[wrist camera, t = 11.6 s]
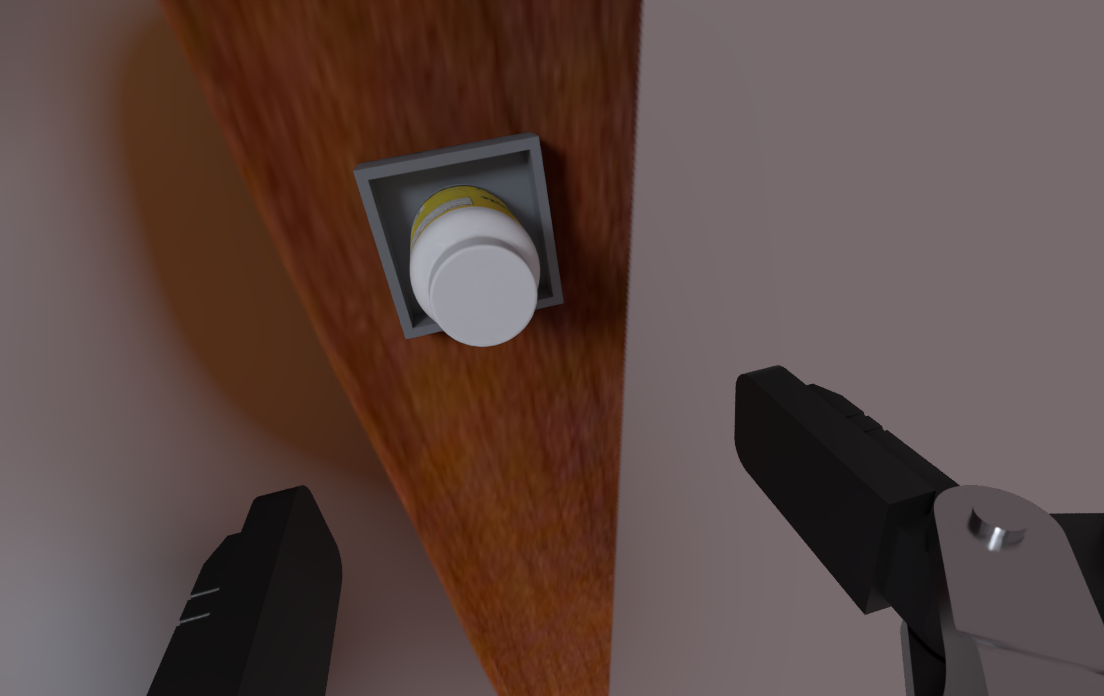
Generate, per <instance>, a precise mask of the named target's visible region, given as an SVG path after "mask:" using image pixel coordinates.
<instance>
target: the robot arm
mask: <svg viewBox="0 0 1104 696" xmlns="http://www.w3.org/2000/svg"><path fill="white" fill-rule="evenodd" d="M734 438H735V446H736V450H737V454H738V457H739V459H740V461H741V463H742V465H743V467H744V468H745V470H746V471H747V472H748V474H749V475H750V476H751V477H752V478H753V480H754V481H755V482H756V483H757V484H758V486H759V487H760V488H761V489H762V491H763V492H764V493H765V494H766V495H767V497H768V498H769V499H770V500H771V501H772V503H773V504H774V505H775V506H776V508H777V509H778V510H779V511H780V512H781V514H782V515H783V516H784V517H785V518H786V520H787V521H788V522H789V523H790V525H791V526H792V527H793V528H794V529H795V531H796V532H797V533H798V534H799V536H800V537H801V538H802V539H803V540H804V542H805V543H806V544H807V545H808V546H809V548H810V549H811V550H812V551H813V552H814V553H815V555H816V556H817V557H818V559H819V560H820V561H821V562H822V563H823V565H824V566H825V567H826V568H827V569H828V571H829V572H830V573H831V574H832V575H833V577H834V578H835V579H836V580H837V582H838V583H839V584H840V585H841V587H842V588H843V589H844V590H845V591H846V593H847V594H848V595H849V596H850V597H851V599H852V600H853V601H854V602H855V604H856V605H857V606H858V607H859V608H860V610H861V611H862V612H863V613H864V614H865V615H866V614H869V613H872V612H875V611H878V610H881V609H885V608H888V607H890V606H892V607H893V608H894V610H895V611H896V612H897V613H898V614H899V615H900V616H901V618H902V619H903V621H902V625H901V631H900V635H901V645H902V656H903V666H904V677H905V687H906V696H1104V513H1078V514H1077V513H1075V514H1073V513H1071V514H1068V513H1067V514H1066V513H1065V514H1048V513H1047V512H1045V511H1044V510H1042V509H1041V508H1040V507H1038V506H1037V505H1035V504H1033V503H1031V502H1030V501H1028V500H1026V499H1024V498H1021V497H1020V496H1017V495H1015V494H1012V493H1009V492H1006V491H1003V490H1000V489H996V488H990V487H985V486H977V485H976V486H975V485H965V486H960V485H959V484H957V483H956V482H955V481H953V480H952V479H951V478H949V477H948V476H947V475H945V474H944V473H943V472H941V471H940V470H939V469H938V468H936V467H935V466H934V465H932V464H931V463H930V462H928V461H927V460H926V459H924V458H923V457H922V456H920V455H919V454H918V453H917V452H915V451H914V450H913V449H911V448H910V447H909V446H907V445H906V444H905V443H903V442H902V441H901V440H900V439H898V438H897V437H896V436H894V435H893V434H892V433H890V432H889V431H888V430H886V431H884V430H883V428H882V426H881V425H880V424H879V423H877V422H876V421H875V420H873V419H872V418H871V417H869V416H865V415H864V412H863V411H862V410H860V409H859V408H858V407H856V406H855V405H854V404H852V403H851V402H850V401H848V400H847V399H846V398H844V397H843V396H842V395H840V394H837V393H835V392H832V391H830V390H827V389H825V388H822V387H820V386H817V385H815V384H810V385H805V384H804V383H803V382H802V381H800V380H799V379H798V378H797V377H796V376H794V375H793V374H792V373H790V372H789V371H788V370H787V369H786V368H784V367H782V366H779V365H777V366H772V367H769V368H765V369H761V370H757V371H753V372H749V373H745V374H741V375H740V376H739V377H738V378H737V381H736V394H735V436H734ZM341 585H342V564H341V557H340V554H339V550H338V547H337V544H336V542H335V540H334V538H333V536H332V534H331V532H330V530H329V528H328V526H327V524H326V522H325V520H324V518H323V516H322V514H321V512H320V509H319V507H318V505H317V503H316V501H315V499H314V497H313V495H312V493H311V491H310V490H309V489H308V488H307V487H306V486H304V485H301V486H297V487H294V488H289V489H285V490H282V491H278V492H274V493H270V494H266V495H262V496H258V497H257V498H255V499H254V501H253V503H252V505H251V508H250V510H249V513H248V515H247V518H246V520H245V523H244V526H243V528H242V531H241V532H240V533H236V534H232V535H229V536H227V537H226V538H225V539H224V541H223V542H222V543H221V544H220V546H219V547H218V548H217V549H216V550H215V551H214V552H213V554H212V555H211V556H210V557H209V559H208V560H207V561H206V562H205V563H204V565H203V567H202V569H201V571H200V574H199V576H198V578H197V581H196V583H195V585H194V587H193V590H192V592H191V600H188V601H187V604H186V606H185V608H184V611H183V613H182V615H181V617H180V626H177V627H176V629H175V631H174V633H173V636H172V638H171V641H170V643H169V645H168V647H167V649H166V652H165V654H164V657H163V659H162V661H161V663H160V666H159V668H158V670H157V672H156V675H155V677H154V679H153V682H152V684H151V686H150V689H149V691H148V694H147V696H325V692H326V686H327V680H328V673H329V666H330V659H331V652H332V646H333V639H334V632H335V626H336V618H337V611H338V605H339V599H340V598H339V597H340V592H341Z"/></svg>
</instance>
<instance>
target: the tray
mask: <svg viewBox="0 0 1104 696" xmlns="http://www.w3.org/2000/svg"><path fill="white" fill-rule="evenodd" d="M353 172H354V175H355V178H356V181H357V185H358V188H359V191H360V194H361V197H362V201H363V204H364V207H365V210H366V213H367V217H368V220H369V223H370V226H371V230H372V233H373V236H374V239H375V242H376V246H377V249H378V252H379V255H380V258H381V262H382V265H383V268H384V271H385V274H386V278H387V281H388V284H389V287H390V290H391V294H392V297H393V300H394V303H395V306H396V310H397V313H398V316H399V319H400V322H401V326H402V329H403V332H404V335H405V338H406V339H409V338H413V337H418V336H422V335H426V334H431V333H435V332H440V331H443V329H442V328H441V327H440V326H439V325H438V323H436V322H435V321H434V320H433V319H432V318H430V317H429V316H428V315H427V314H426V312H425V311H424V310H423V309H422V307H421V306H420V304H419V303H418V301H417V299H416V297H415V294H414V292H413V288H412V285H411V279H410V245H411V228H412V223H413V220H414V217H415V215H416V212H417V210H418V209H419V207H420V206H421V204H422V203H423V202H424V201H425V200H426V199H427V198H428V197H429V196H430V195H432V194H433V193H434V192H436V191H438V190H440V189H442V188H444V187H447V186H451V185H457V184H469V185H475V186H479V187H481V188H484V189H486V190H488V191H490V192H491V193H493V194H494V195H496V196H497V197H498V198H499V199H500V200H501V201H502V202H503V203H504V204H505V205H506V206H507V208H508V209H509V210H510V211H511V213H512V214H513V215H514V216H515V218H516V219H517V220H518V221H519V223H520V224H521V225H522V227H523V228H524V229H525V231H526V232H527V233H528V235H529V236H530V238H531V240H532V242H533V244H534V246H535V248H536V251H537V254H538V258H539V264H540V279H539V285H538V289H537V294H538V297H537V304H536V308H535V310H536V309H541V308H545V307H549V306H554V305H558V304H563V303H564V301H563V295H562V288H561V281H560V275H559V268H558V261H557V255H556V248H555V241H554V235H553V228H552V221H551V215H550V208H549V201H548V195H547V188H546V181H545V175H544V168H543V161H542V155H541V148H540V141H539V136H537V135H535V134H533V133H531V132H527V133H521V134H516V135H511V136H505V137H500V138H494V139H489V140H484V141H478V142H473V143H467V144H462V145H457V146H451V147H446V148H440V149H435V150H430V151H424V152H419V153H413V154H408V155H403V156H397V157H392V158H386V159H381V160H376V161H370V162H365V163H359V164H358V165H357V166H356V168H355V169H354V170H353Z"/></svg>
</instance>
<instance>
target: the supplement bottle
mask: <svg viewBox="0 0 1104 696" xmlns="http://www.w3.org/2000/svg"><path fill="white" fill-rule="evenodd" d="M410 279H411V285H412V288H413V292H414V294H415V297H416V299H417V301H418V303H419V304H420V306H421V307H422V309H423V310H424V311H425V312H426V314H427V315H428V316H429V317H430V318H432V319H433V320H434V321H435V322H436V323H438V325H439V326H440V327H441V328H442V329H443V331H445V332H446V333H447V334H448V335H449V336H451V337H452V338H454V339H455V340H457V341H459V342H462V343H464V344H467V345H472V346H479V347H486V346H493V345H497V344H501V343H503V342H506V341H508V340H510V339H512V338H513V337H515V336H516V335H517V334H519V333H520V332H521V331H522V330H523V329H524V328H525V327H526V325H527V324H528V323H529V321H530V320H531V318H532V316H533V313H534V311H535V308H536V304H537V297H538V294H537V289H538V285H539V279H540V264H539V258H538V254H537V251H536V248H535V246H534V244H533V242H532V240H531V238H530V236H529V235H528V233H527V232H526V231H525V229H524V228H523V227H522V225H521V224H520V223H519V221H518V220H517V219H516V218H515V216H514V215H513V214H512V213H511V211H510V210H509V209H508V208H507V206H506V205H505V204H504V203H503V202H502V201H501V200H500V199H499V198H498V197H497V196H496V195H494V194H493V193H491V192H490V191H488V190H486V189H484V188H481V187H479V186H475V185H469V184H457V185H451V186H447V187H444V188H442V189H440V190H438V191H436V192H434V193H433V194H432V195H430V196H429V197H428V198H427V199H426V200H425V201H424V202H423V203H422V204H421V206H420V207H419V209H418V210H417V212H416V215H415V217H414V220H413V223H412V228H411V245H410Z"/></svg>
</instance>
